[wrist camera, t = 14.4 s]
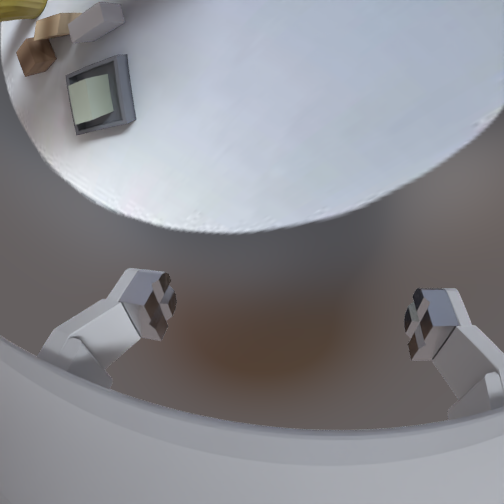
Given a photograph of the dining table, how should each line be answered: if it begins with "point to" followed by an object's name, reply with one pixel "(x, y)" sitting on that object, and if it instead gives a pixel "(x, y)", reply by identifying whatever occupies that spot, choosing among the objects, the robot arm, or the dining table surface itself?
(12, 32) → the dining table surface
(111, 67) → the slate dish
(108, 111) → the block sage
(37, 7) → the vase
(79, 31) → the block grey
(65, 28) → the block oak
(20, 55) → the block walnut
